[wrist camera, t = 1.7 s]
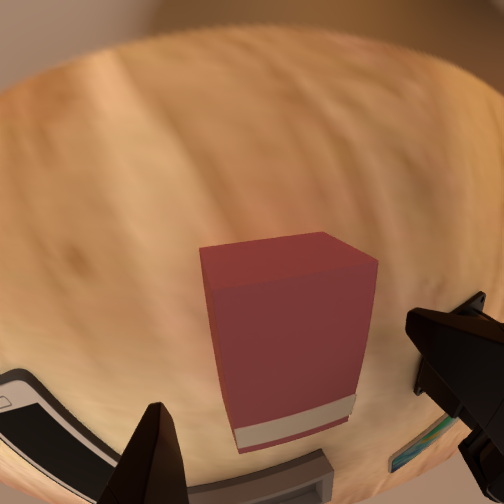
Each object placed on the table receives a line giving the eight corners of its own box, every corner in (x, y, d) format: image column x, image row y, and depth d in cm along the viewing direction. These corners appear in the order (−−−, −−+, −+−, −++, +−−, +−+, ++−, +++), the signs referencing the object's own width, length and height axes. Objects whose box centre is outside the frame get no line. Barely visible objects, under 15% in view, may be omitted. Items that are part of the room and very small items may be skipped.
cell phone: (28, 358, 9) (21, 371, 8) (183, 491, 14) (185, 502, 14) (-36, 386, 8) (-41, 396, 7) (106, 502, 14) (106, 511, 13)
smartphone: (475, 403, 25) (389, 475, 23) (471, 400, 25) (386, 470, 24) (487, 375, 22) (391, 460, 20) (482, 372, 22) (387, 455, 21)
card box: (198, 246, 9) (212, 292, 6) (320, 230, 11) (380, 261, 7) (221, 393, 12) (239, 456, 8) (313, 371, 13) (348, 422, 9)
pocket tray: (321, 448, 15) (334, 470, 14) (321, 484, 18) (330, 500, 16) (173, 489, 14) (177, 513, 12) (209, 516, 16) (214, 534, 14)
